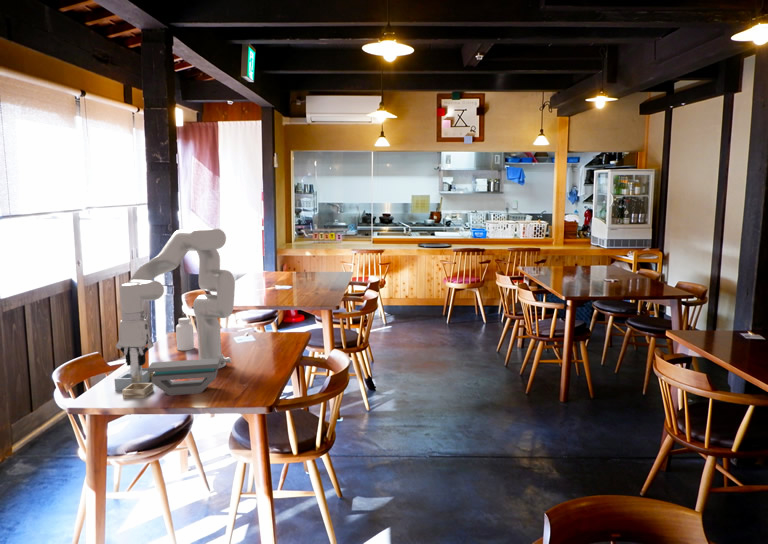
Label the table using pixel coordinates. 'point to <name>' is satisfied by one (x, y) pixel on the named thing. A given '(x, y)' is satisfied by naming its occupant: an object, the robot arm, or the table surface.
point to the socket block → (125, 379)
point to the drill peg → (135, 365)
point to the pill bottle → (184, 334)
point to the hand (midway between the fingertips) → (135, 364)
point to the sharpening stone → (184, 375)
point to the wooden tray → (137, 390)
